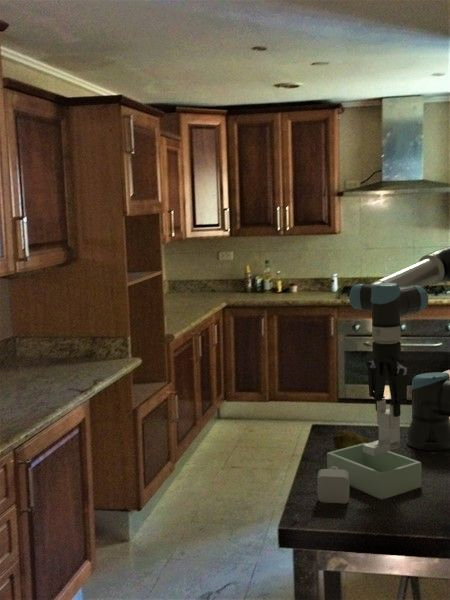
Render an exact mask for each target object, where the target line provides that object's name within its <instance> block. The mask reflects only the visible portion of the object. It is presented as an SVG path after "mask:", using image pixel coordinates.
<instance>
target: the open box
mask: <svg viewBox="0 0 450 600" xmlns="http://www.w3.org/2000/svg"><path fill="white" fill-rule="evenodd" d="M364 444H368V443H362V444H358V445H355V446H351V447H347V448H343V449H339V450H338V449H335V450H332V451H329V452H326V469H330V468H331V467H333V466H335V467H337V468H338V469H339V470H346V471H347V472H348V473H349V487H351V488H354V489H355V490H358V491H360V492H363V493H365V494H367V495H370V496H372V497H375V498H377V499H379V500H386V499H389V498H392V497H394V496H398V495H400V494H404V493H407V492H410V491H414V490H417V489H419V488H421V487H422V462H421V461H419V460H416V459H413V458H410V457H407V456H404V455H402V454H398V453H396V452H393V451H387V452H384V453H381V454H378V455H375V456H373V455H370V454H367V453H364V452H363V445H364Z"/></svg>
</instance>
